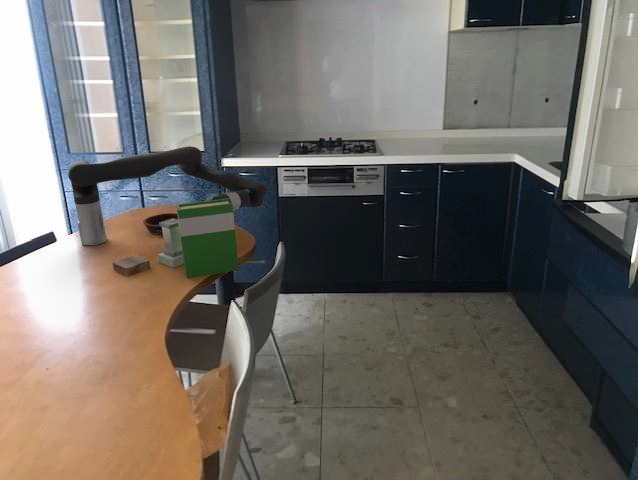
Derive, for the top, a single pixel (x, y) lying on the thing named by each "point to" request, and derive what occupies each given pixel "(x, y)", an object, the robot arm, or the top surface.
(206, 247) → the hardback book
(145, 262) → the walnut stand
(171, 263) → the green stand
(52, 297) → the top surface
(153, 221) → the dish
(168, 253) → the grey square pedestal
